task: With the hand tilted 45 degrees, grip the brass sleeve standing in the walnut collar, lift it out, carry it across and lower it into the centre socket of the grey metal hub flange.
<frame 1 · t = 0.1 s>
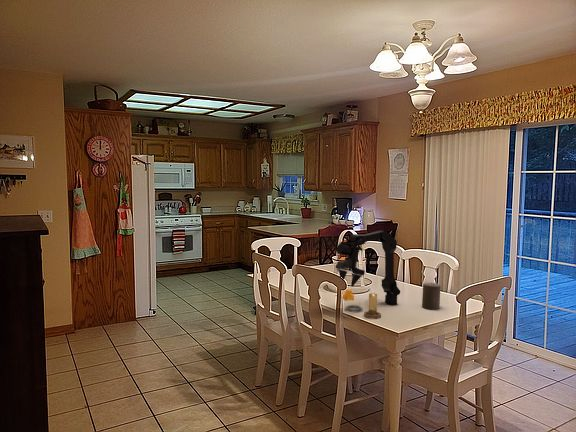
hand: (346, 284, 239), 15 cm above the table, tool pointing down, fingers open, 9 cm apart
stand collar: (372, 316, 233), on the table
pipe clamp: (345, 298, 270), on the table
sleeve: (372, 305, 232), in the stand collar
pillar candle: (430, 307, 250), on the table
hub: (353, 309, 244), on the table
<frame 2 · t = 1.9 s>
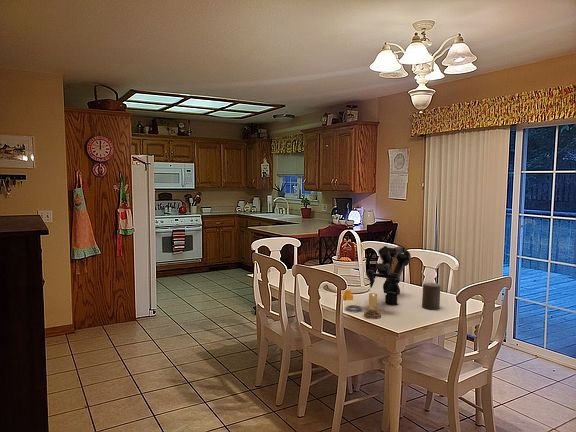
hand: (378, 288, 239), 13 cm above the table, tool tilted 45°, fingers open, 9 cm apart
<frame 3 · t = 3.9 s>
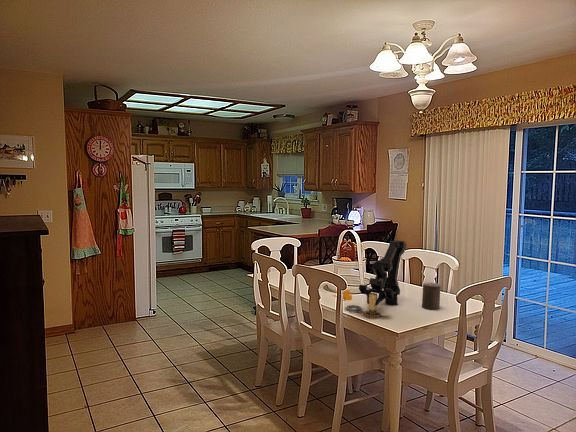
hand: (371, 304, 231), 7 cm above the table, tool tilted 45°, fingers closed on sleeve, 4 cm apart
sleeve: (372, 305, 232), in the stand collar, touching gripper
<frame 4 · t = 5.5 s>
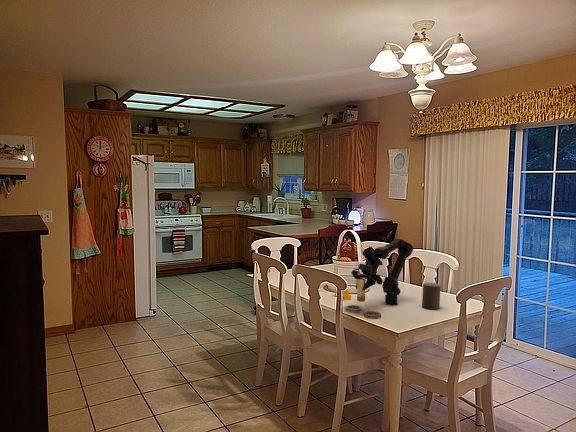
hand: (359, 289, 237), 13 cm above the table, tool tilted 45°, fingers closed on sleeve, 4 cm apart
sleeve: (361, 289, 238), point 13 cm above the table, touching gripper
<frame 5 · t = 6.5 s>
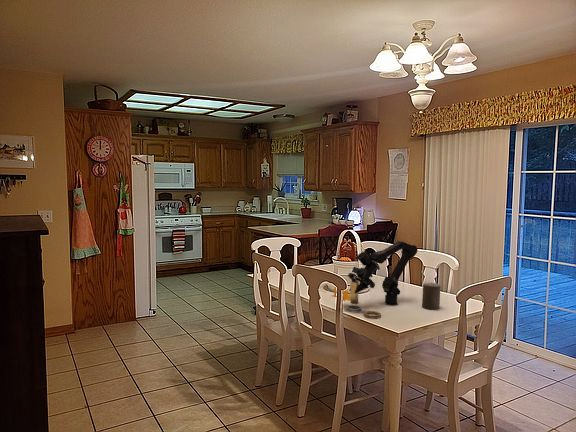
hand: (352, 291, 243), 10 cm above the table, tool tilted 45°, fingers closed on sleeve, 4 cm apart
sleeve: (354, 292, 244), point 10 cm above the table, touching gripper
when the fingers open (7 cm above the table, at t = 7.3 s): sleeve stays where it is, resting in hub.
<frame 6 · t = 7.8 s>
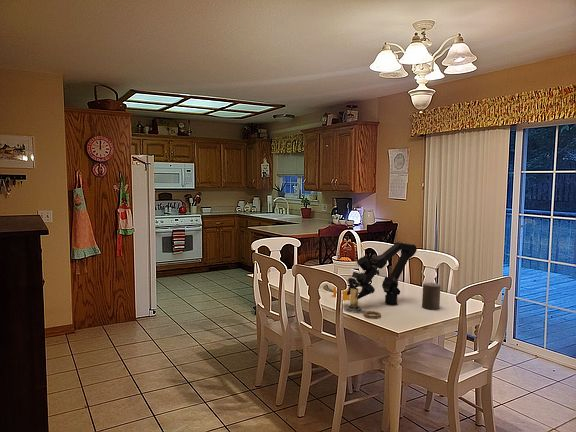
hand: (352, 296, 243), 8 cm above the table, tool tilted 45°, fingers open, 9 cm apart
sleeve: (354, 299, 244), in the hub
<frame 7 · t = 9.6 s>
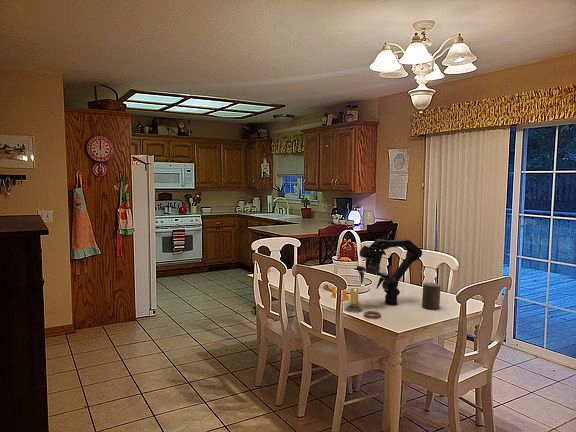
hand: (369, 286, 251), 11 cm above the table, tool tilted 15°, fingers open, 9 cm apart
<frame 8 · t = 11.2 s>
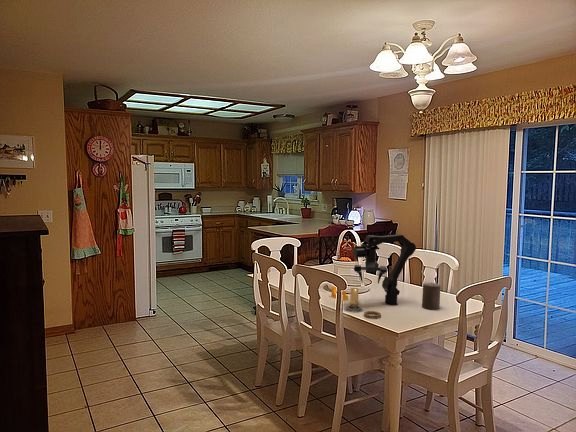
hand: (370, 283, 253), 13 cm above the table, tool pointing down, fingers open, 9 cm apart
at the end: sleeve 0.1 cm off-centre on the hub, point 6.0 cm above the hub's base; sleeve tilted 0°; the gripper is holding nothing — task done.
